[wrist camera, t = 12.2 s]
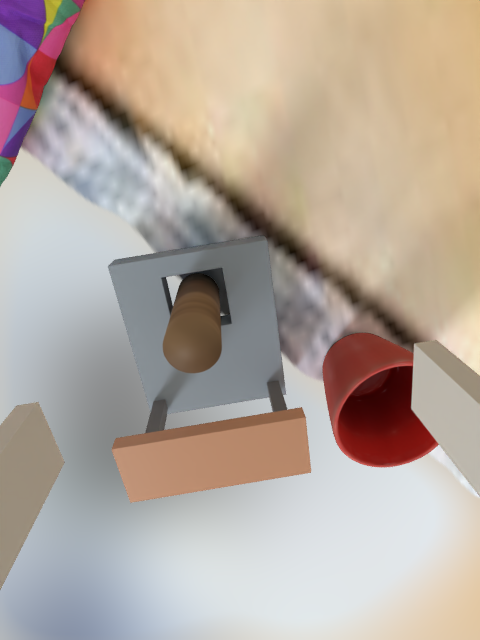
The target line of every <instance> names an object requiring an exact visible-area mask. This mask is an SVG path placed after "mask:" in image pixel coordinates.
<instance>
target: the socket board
mask: <svg viewBox="0 0 480 640" xmlns="http://www.w3.org/2000/svg"><path fill="white" fill-rule="evenodd" d="M108 268H109V272H110V275H111V279H112V282H113V286H114V289H115V292H116V295H117V299H118V303H119V306H120V309H121V313H122V316H123V320H124V323H125V326H126V330H127V333H128V336H129V340H130V344H131V347H132V350H133V353H134V357H135V361H136V364H137V367H138V371H139V374H140V378H141V381H142V384H143V388H144V391H145V395H146V398H147V401H148V405H149V408H150V412H151V413H150V417H149V421H148V425H147V429H146V433H144V434H138V435H132V436H126V437H120V438H116V439H115V441H114V444H113V447H112V452H113V455H114V457H115V461H116V463H117V466H118V469H119V472H120V474H121V477H122V480H123V483H124V486H125V488H126V491H127V494H128V497H129V500H130V502H131V503H132V502H137V501H144V500H149V499H155V498H161V497H168V496H174V495H180V494H185V493H192V492H197V491H203V490H209V489H215V488H221V487H227V486H233V485H239V484H245V483H251V482H257V481H263V480H269V479H275V478H281V477H287V476H293V475H299V474H305V473H311V466H310V456H309V446H308V436H307V426H306V417H305V414H304V412H303V409H302V407H301V408H295V409H289V410H287V407H286V404H285V401H284V397H283V395H285V394H286V391H285V382H284V373H283V365H282V357H281V349H280V341H279V332H278V324H277V316H276V308H275V300H274V291H273V283H272V275H271V267H270V259H269V250H268V242H267V239H266V238H265V236H264V235H263V236H257V237H251V238H245V239H238V240H232V241H226V242H220V243H214V244H208V245H202V246H196V247H190V248H184V249H178V250H172V251H165V252H159V253H153V254H148V255H141V256H135V257H129V258H123V259H117V260H114V261H113V262H112V263H111V264H110V265H109V266H108ZM217 268H222V269H223V275H224V280H225V286H226V292H227V298H228V303H229V309H230V315H224V316H220V317H221V338H222V351H221V355H220V358H219V360H218V361H217V362H216V364H215V365H214V366H212V367H211V368H210V369H208V370H206V371H203V372H200V373H185V372H182V371H179V370H177V369H175V368H174V367H173V366H171V365H170V364H169V362H168V361H167V360H166V358H165V356H164V353H163V340H164V336H165V333H166V329H167V326H168V323H169V319H170V316H171V312H172V309H173V305H172V301H171V297H170V293H169V288H168V284H167V280H166V277H168V276H173V275H180V274H186V273H192V272H198V271H204V270H210V269H217ZM267 397H269V398H270V402H271V406H272V410H273V412H271V413H265V414H259V415H253V416H247V417H241V418H235V419H229V420H223V421H217V422H212V423H205V424H199V425H193V426H187V427H181V428H175V429H169V430H164V427H165V422H166V417H167V414H171V413H177V412H182V411H189V410H195V409H201V408H207V407H213V406H219V405H225V404H231V403H237V402H243V401H249V400H255V399H261V398H267Z"/></svg>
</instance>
